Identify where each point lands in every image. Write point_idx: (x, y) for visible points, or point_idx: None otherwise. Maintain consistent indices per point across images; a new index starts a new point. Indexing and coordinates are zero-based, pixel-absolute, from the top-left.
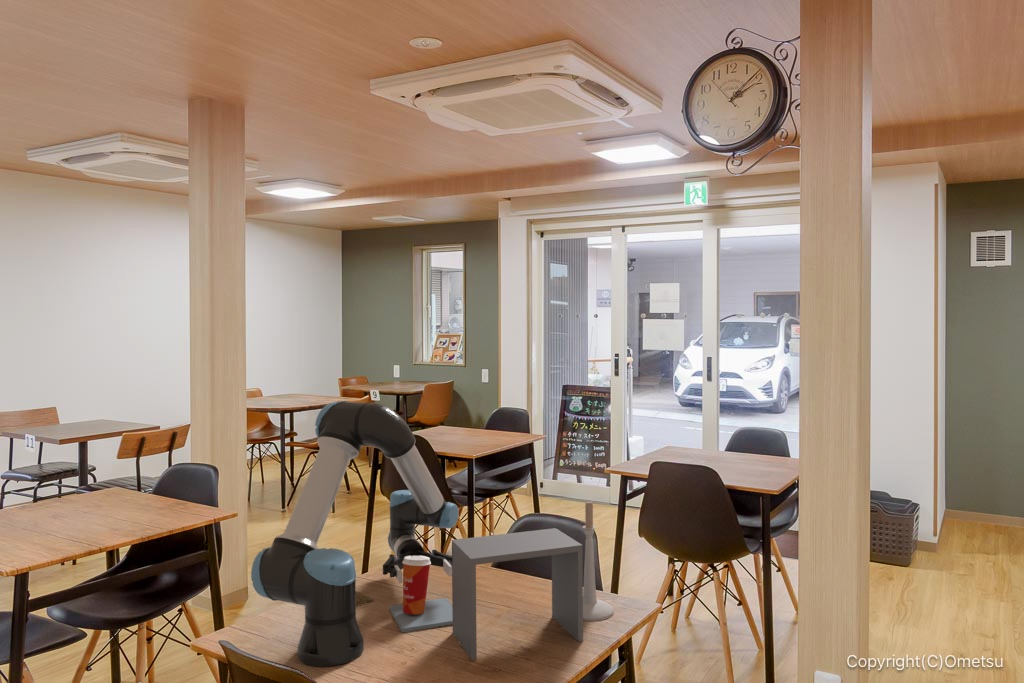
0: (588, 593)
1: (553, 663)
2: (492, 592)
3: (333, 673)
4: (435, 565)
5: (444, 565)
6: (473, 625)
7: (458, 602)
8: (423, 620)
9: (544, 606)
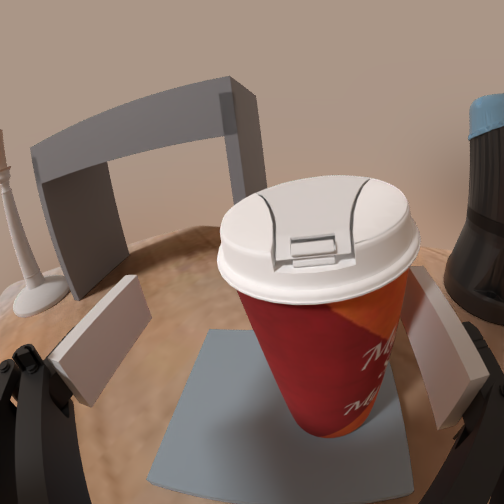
0: (37, 265)
1: (192, 235)
2: None
3: None
4: (82, 472)
5: (93, 359)
6: None
7: None
8: None
9: (45, 329)
